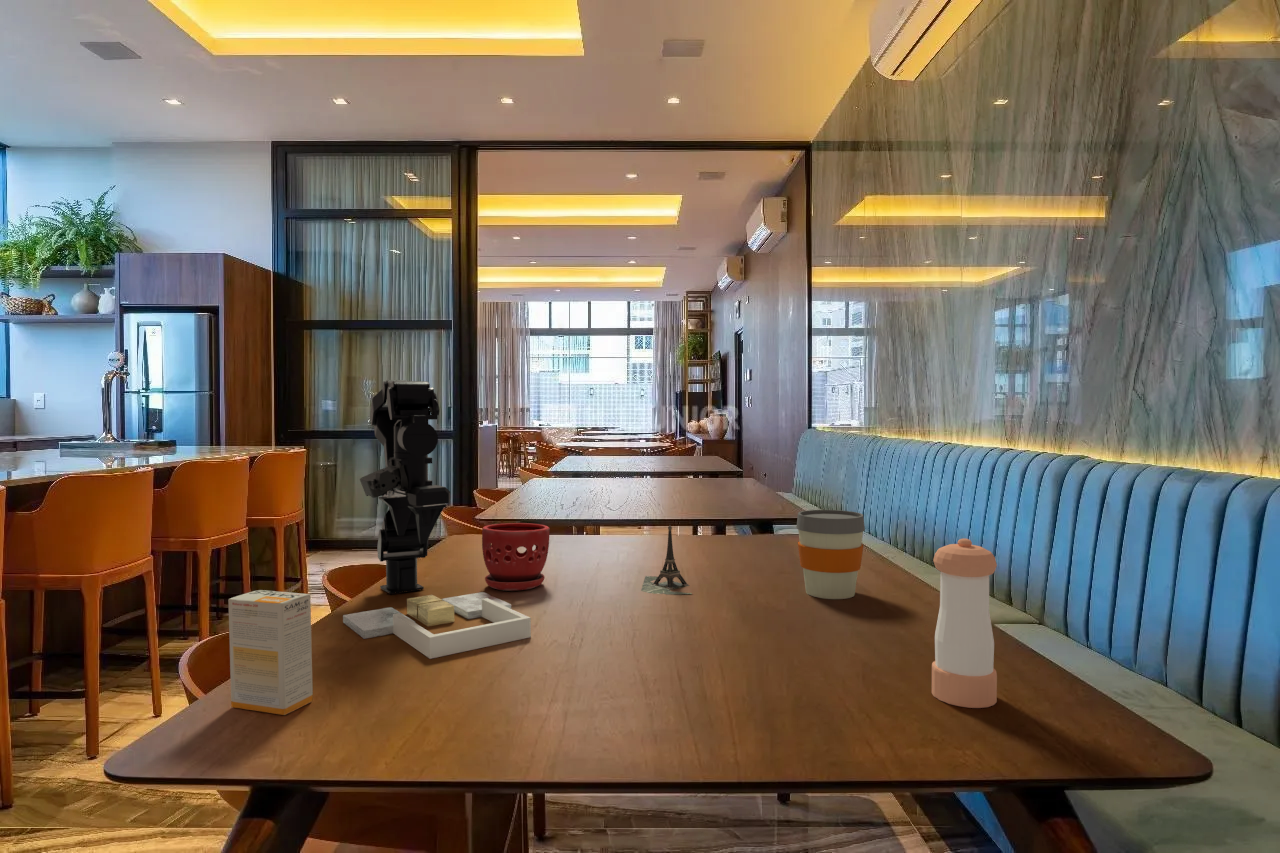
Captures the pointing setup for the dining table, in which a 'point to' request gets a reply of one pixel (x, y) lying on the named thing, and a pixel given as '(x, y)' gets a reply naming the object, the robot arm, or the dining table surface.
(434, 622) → the beige wooden block
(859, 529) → the reusable coffee cup
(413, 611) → the tan block
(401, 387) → the robot arm
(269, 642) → the supplement box
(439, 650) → the tray
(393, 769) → the dining table surface
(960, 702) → the salt shaker
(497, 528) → the plant pot
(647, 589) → the eiffel tower figurine
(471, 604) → the plate
